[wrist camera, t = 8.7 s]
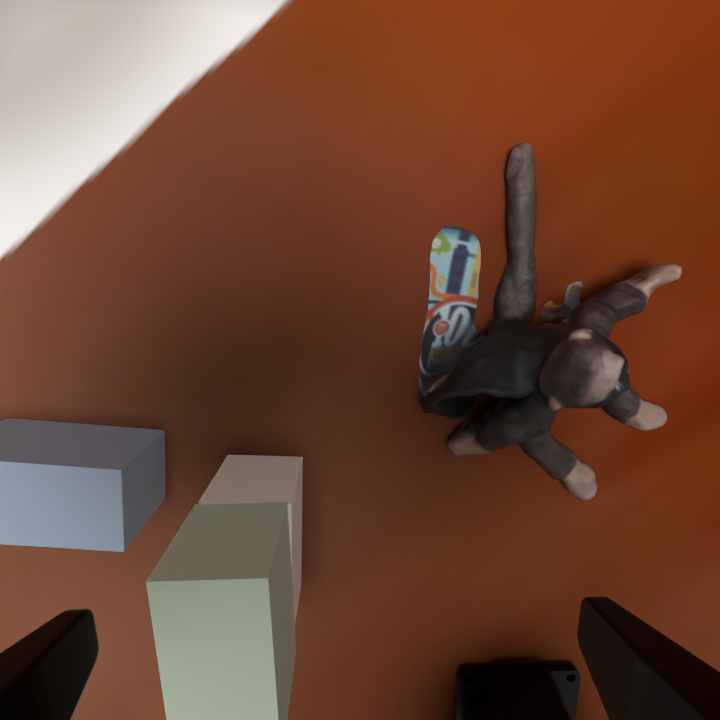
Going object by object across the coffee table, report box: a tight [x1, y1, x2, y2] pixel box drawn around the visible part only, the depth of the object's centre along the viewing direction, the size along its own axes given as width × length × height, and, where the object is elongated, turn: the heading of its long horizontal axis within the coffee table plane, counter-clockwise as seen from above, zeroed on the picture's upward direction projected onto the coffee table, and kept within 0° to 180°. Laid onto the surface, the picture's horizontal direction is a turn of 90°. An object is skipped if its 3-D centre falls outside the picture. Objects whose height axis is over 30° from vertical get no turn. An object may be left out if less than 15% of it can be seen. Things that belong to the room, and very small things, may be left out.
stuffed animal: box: [419, 143, 682, 501], centre depth 19 cm, size 12×10×12 cm
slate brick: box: [0, 418, 166, 552], centre depth 18 cm, size 7×4×4 cm, turn 85°
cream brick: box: [199, 455, 303, 623], centre depth 19 cm, size 7×4×4 cm, turn 178°
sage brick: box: [146, 502, 296, 720], centre depth 15 cm, size 7×4×4 cm, turn 1°
